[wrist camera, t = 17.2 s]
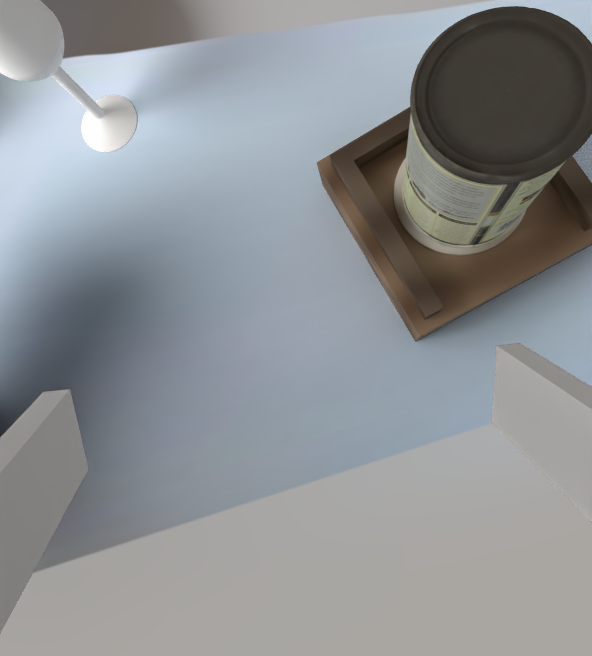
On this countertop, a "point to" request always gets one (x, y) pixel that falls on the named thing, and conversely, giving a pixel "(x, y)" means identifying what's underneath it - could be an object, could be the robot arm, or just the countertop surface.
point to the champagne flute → (58, 71)
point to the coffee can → (493, 121)
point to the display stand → (438, 260)
